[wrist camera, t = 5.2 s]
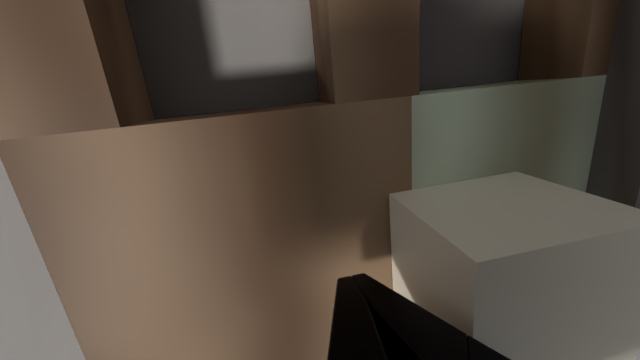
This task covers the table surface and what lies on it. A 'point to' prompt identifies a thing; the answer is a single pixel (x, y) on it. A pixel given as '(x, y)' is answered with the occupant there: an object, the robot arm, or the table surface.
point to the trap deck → (282, 166)
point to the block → (522, 265)
